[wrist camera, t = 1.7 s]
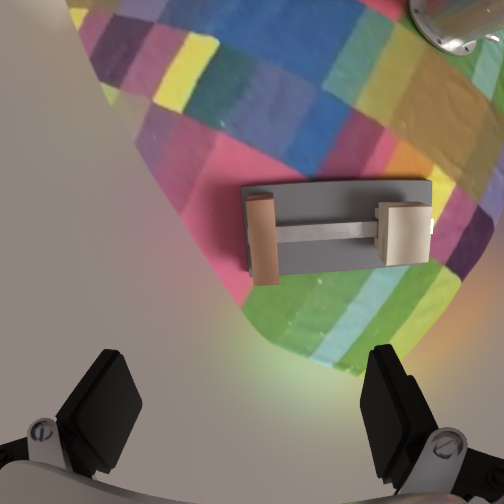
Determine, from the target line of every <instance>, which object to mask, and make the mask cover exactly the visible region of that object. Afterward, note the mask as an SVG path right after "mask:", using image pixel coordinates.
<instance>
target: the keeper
mask: <svg viewBox="0 0 504 504" xmlns="http://www.w3.org/2000/svg"><path fill="white" fill-rule="evenodd" d="M375 217H376V218H377V219H378V220H379V226H378V237H374V245H375V246H376V247H377V248H378V254H377V256H378V257H379V258H380V259H381V260H382V261H383V263H384V264H385V265H386V266H390V265H401V264H412V263H423V262H428V259H429V249H430V238H431V225H432V206H430V205H427V204H425V203H422V202H420V201H412V202H379V208H375Z"/></svg>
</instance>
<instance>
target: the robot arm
mask: <svg viewBox="0 0 504 504" xmlns="http://www.w3.org/2000/svg"><path fill="white" fill-rule="evenodd" d="M409 11H410V15H411V17H412V19H413V22H414V23H415V25H416V27H417V28H418V30H419V31H420V32H421V34H422V35H423V36H424V37H425V38H426V39H427V40H428V41H429V42H430V43H431V44H433V45H434V46H435V47H437V48H438V49H439V50H441V51H443V52H445V53H447V54H450V55H453V56H464V55H467V54H469V53H471V52H472V51H473V50H474V49H475V46H476V43H477V40H478V39H487V40H489V41H492V42H494V43H498V41H499V37H498V35H497V34H496V33H494V32H496V31H498V30H501V29H503V28H504V0H409ZM141 409H142V399H141V397H140V395H139V393H138V390H137V388H136V386H135V383H134V381H133V379H132V376H131V374H130V371H129V369H128V366H127V364H126V361H125V359H124V356H123V355H122V354H120V352H119V351H118V350H111V349H104V350H103V351H102V352H101V354H100V355H99V356H98V358H97V359H96V360H95V362H94V363H93V364H92V366H91V367H90V368H89V370H88V371H87V372H86V374H85V375H84V377H83V378H82V379H81V381H80V382H79V383H78V385H77V386H76V387H75V389H74V390H73V392H72V393H71V394H70V396H69V397H68V399H67V400H66V402H65V403H64V404H63V406H62V407H61V409H60V410H59V412H58V413H57V415H56V416H55V417H56V418H57V421H56V422H55V421H54V420H52V419H50V418H41V419H38V420H36V421H35V422H33V423H32V424H31V426H29V429H28V432H27V437H25V438H22V439H19V440H15V441H12V442H9V443H6V444H2V445H0V504H194V503H188V502H182V501H176V500H170V499H165V498H160V497H155V496H150V495H146V494H142V493H137V492H134V491H130V490H126V489H122V488H119V487H116V486H113V485H109V484H106V483H103V482H100V481H97V479H96V476H95V472H96V470H98V471H100V472H103V473H106V474H109V473H110V471H111V469H113V468H115V466H116V464H117V461H118V459H119V457H120V455H121V452H122V450H123V448H124V446H125V444H126V441H127V439H128V437H129V435H130V433H131V430H132V428H133V426H134V424H135V422H136V419H137V417H138V415H139V413H140V410H141ZM360 409H361V413H362V416H363V420H364V424H365V428H366V432H367V436H368V440H369V444H370V448H371V452H372V456H373V461H374V465H375V469H376V474H377V477H378V478H382V479H383V484H388V483H392V484H393V488H395V489H396V491H395V492H394V493H393V495H392V496H387V497H381V498H376V499H369V500H363V501H357V502H350V503H343V504H504V459H501V458H498V457H494V456H491V455H488V454H485V453H482V452H479V451H476V450H473V449H471V448H468V447H467V445H468V444H467V439H466V437H465V436H464V434H463V433H462V432H460V431H459V430H457V429H455V428H450V427H445V428H440V429H439V428H438V425H437V424H436V421H435V419H434V417H433V415H432V412H431V410H430V408H429V406H428V404H427V402H426V400H425V398H424V396H423V394H422V392H421V390H420V388H419V386H418V384H417V382H416V380H415V378H414V377H413V376H412V375H408V376H407V374H406V373H405V370H404V368H403V366H402V364H401V362H400V360H399V358H398V356H397V355H396V353H395V351H394V349H393V347H392V345H391V344H385V345H377V346H375V347H374V350H371V351H370V352H369V357H368V363H367V368H366V374H365V379H364V384H363V389H362V393H361V398H360Z"/></svg>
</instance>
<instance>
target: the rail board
mask: <svg viewBox="0 0 504 504" xmlns="http://www.w3.org/2000/svg"><path fill="white" fill-rule="evenodd" d="M241 198H242V208H243V218H244V228H245V238H246V247H247V257H248V267H249V276H250V277H253V281H254V286H261V285H278V284H279V275H290V274H305V273H319V272H333V271H346V270H359V269H372V268H383V267H395V266H406V265H417V264H427V262H423V263H412V264H401V265H390V266H386V265H385V264H384V263H383V261H382V260H381V259H380V258H379V257H378V256H377V254H378V248H377V247H376V246H375V245H374V237H378V226H379V220H378V219H377V218H376V217H375V208H379V202H412V201H420V202H422V203H425V204H427V205H430V206H432V181H431V180H420V179H370V180H333V181H310V182H292V183H277V184H264V185H251V186H242V187H241ZM432 231H433V219H432V225H431V234H432Z"/></svg>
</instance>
